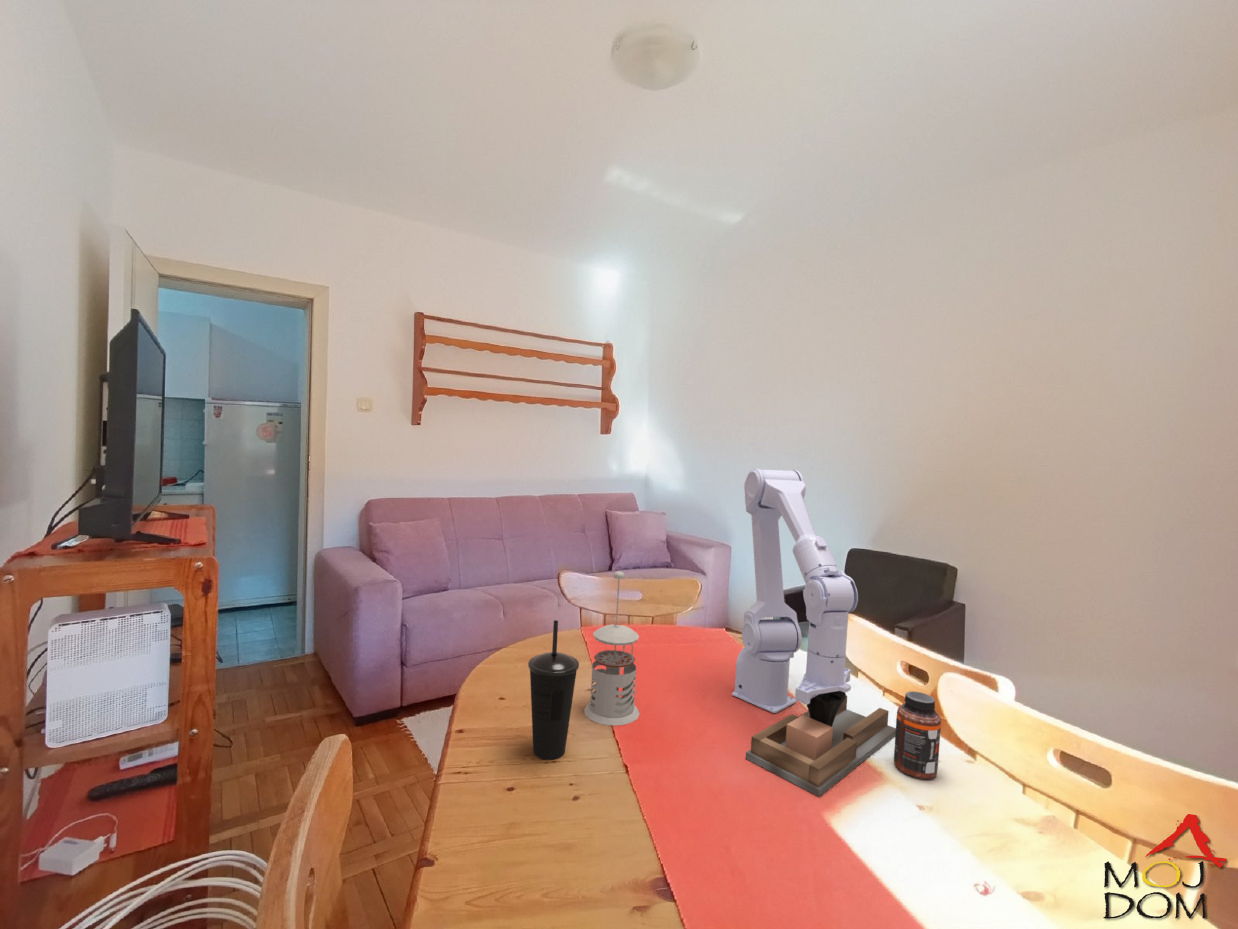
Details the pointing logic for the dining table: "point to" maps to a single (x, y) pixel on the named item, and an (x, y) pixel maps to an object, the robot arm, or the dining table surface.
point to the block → (809, 737)
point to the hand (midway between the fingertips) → (820, 735)
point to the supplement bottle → (917, 736)
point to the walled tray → (849, 750)
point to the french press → (613, 676)
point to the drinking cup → (551, 699)
